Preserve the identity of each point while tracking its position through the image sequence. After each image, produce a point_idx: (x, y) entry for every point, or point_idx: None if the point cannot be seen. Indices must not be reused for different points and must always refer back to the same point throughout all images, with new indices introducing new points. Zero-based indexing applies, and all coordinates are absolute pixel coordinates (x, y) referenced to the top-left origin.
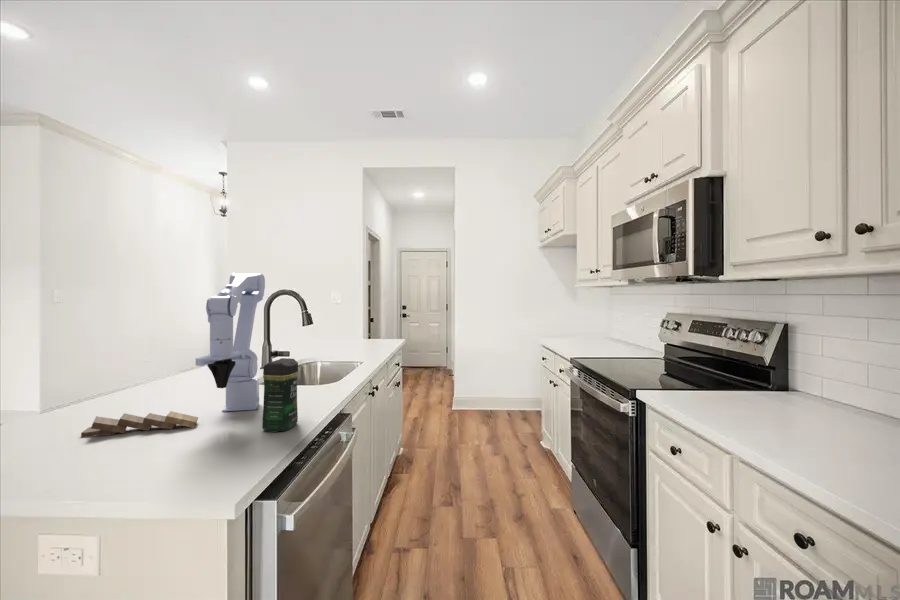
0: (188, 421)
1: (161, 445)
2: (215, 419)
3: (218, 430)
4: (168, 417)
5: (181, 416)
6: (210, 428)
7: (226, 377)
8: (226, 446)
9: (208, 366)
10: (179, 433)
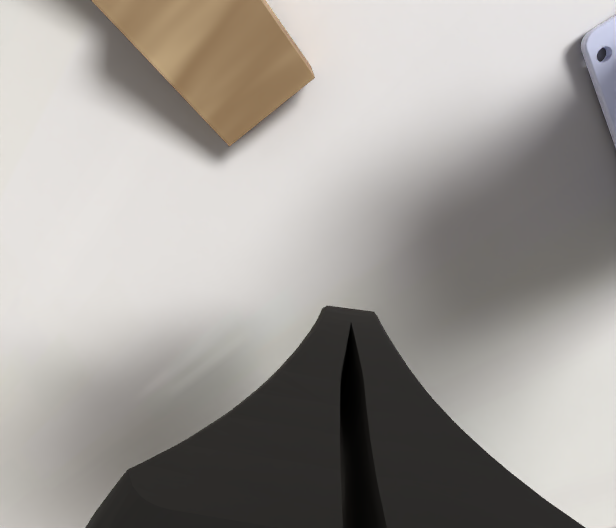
0: (202, 114)
1: (4, 200)
2: (402, 133)
3: (247, 287)
4: (98, 2)
5: (196, 33)
6: (256, 231)
7: (341, 483)
8: (129, 421)
9: (135, 485)
10: (136, 140)
